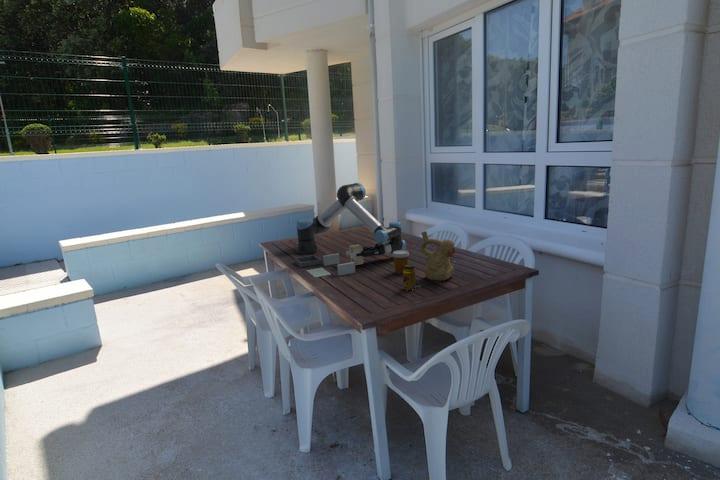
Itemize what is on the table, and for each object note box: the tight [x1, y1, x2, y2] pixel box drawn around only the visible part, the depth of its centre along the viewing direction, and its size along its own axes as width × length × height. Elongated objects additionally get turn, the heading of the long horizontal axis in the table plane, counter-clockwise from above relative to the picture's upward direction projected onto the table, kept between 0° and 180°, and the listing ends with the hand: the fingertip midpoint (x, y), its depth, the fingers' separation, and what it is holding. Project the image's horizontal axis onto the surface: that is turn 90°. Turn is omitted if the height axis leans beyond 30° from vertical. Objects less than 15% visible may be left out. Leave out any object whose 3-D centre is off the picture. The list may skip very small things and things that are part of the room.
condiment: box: [402, 264, 422, 292], centre depth 216 cm, size 7×8×12 cm
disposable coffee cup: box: [391, 249, 410, 275], centre depth 242 cm, size 10×10×12 cm
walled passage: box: [322, 252, 356, 276], centre depth 257 cm, size 26×10×6 cm, turn 25°
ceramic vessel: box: [420, 230, 457, 282], centre depth 228 cm, size 17×20×25 cm
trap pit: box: [294, 254, 324, 269], centre depth 272 cm, size 14×14×3 cm
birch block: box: [348, 243, 364, 266], centre depth 261 cm, size 6×6×11 cm
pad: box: [305, 267, 332, 278], centre depth 252 cm, size 16×10×1 cm, turn 25°
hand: (348, 254), depth 258 cm, fingers closed on birch block, 6 cm apart
